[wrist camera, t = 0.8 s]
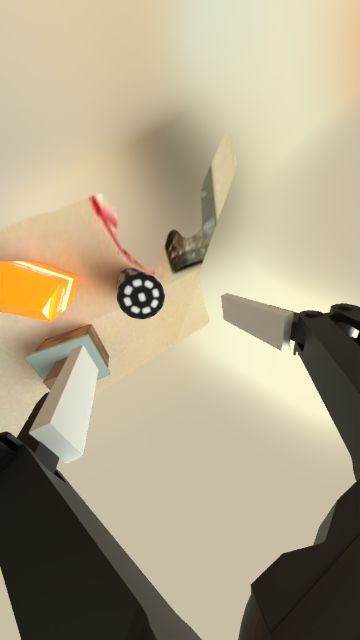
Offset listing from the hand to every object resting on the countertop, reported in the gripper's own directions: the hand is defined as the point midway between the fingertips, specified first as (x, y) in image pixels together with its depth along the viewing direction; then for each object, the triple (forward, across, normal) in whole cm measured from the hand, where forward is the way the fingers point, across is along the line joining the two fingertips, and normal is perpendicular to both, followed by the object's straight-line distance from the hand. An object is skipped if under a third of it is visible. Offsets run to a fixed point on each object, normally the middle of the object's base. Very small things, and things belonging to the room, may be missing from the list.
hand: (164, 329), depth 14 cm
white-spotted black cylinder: (+35, 0, 0) cm, 35 cm away
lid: (+27, -21, -14) cm, 37 cm away
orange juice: (+35, -18, +5) cm, 40 cm away
